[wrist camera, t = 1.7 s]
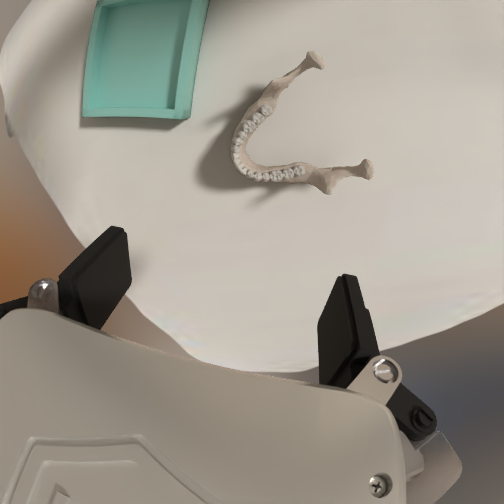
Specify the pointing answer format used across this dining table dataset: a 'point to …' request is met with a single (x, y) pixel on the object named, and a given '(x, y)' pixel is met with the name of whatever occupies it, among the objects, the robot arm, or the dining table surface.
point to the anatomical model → (296, 171)
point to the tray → (143, 58)
